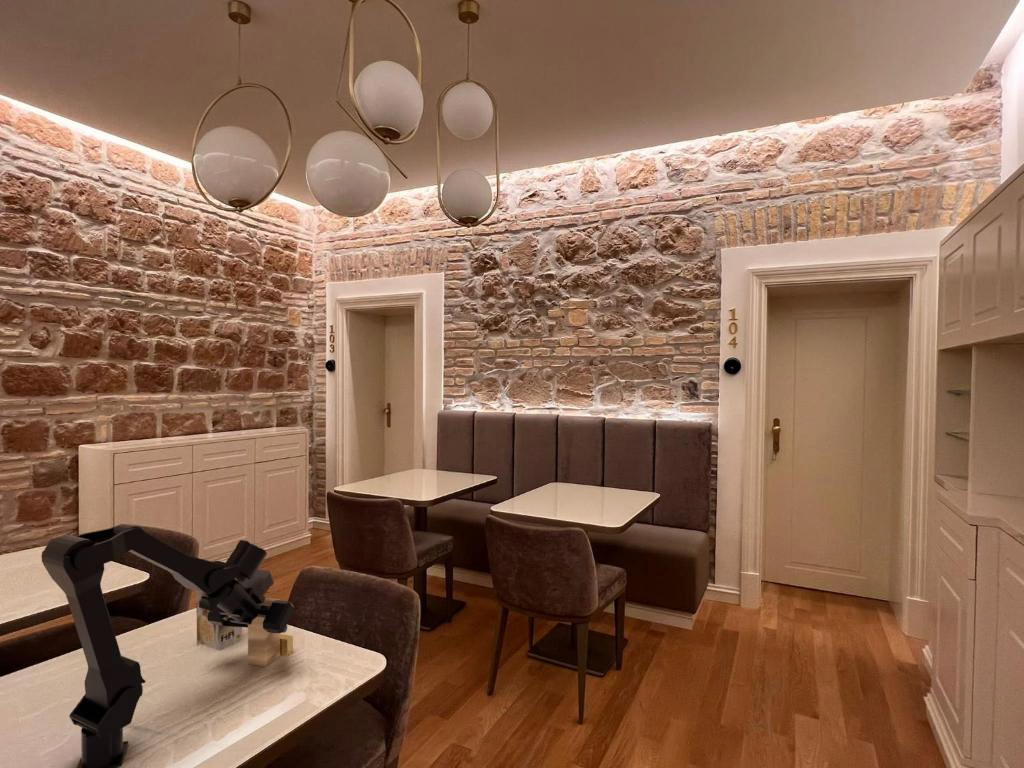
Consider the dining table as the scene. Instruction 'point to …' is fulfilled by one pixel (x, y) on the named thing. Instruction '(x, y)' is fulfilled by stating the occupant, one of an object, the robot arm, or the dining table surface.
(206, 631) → the coffee box
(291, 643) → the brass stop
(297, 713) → the dining table surface
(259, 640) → the block
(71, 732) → the dining table surface
